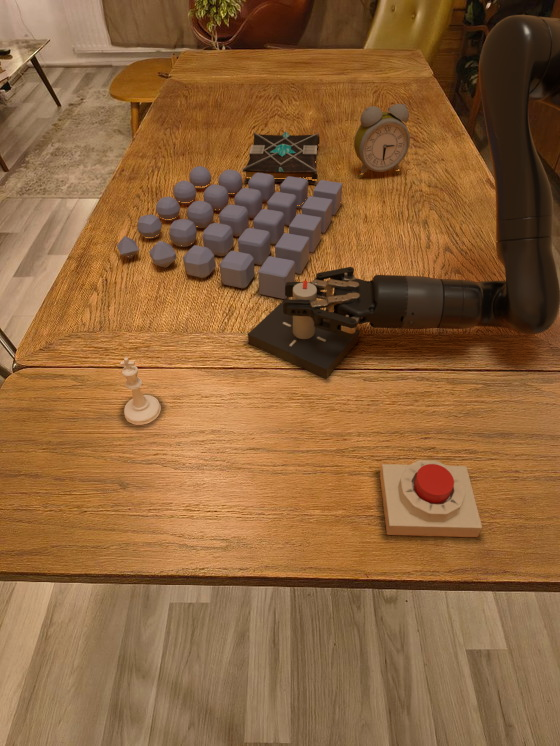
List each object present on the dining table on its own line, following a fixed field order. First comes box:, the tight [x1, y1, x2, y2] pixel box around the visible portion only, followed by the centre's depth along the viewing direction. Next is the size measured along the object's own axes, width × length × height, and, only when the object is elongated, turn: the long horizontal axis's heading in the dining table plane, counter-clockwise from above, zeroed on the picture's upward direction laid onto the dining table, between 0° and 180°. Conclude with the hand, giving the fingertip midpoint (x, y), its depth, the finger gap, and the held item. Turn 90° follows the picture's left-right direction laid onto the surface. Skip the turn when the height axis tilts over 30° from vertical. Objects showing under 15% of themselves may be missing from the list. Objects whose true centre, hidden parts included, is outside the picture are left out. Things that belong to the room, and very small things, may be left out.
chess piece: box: [119, 357, 162, 426], centre depth 67 cm, size 5×5×10 cm
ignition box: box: [379, 459, 483, 538], centre depth 59 cm, size 10×8×4 cm
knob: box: [292, 280, 318, 339], centre depth 75 cm, size 3×3×8 cm
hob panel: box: [247, 300, 361, 380], centre depth 79 cm, size 14×10×2 cm
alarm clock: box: [353, 103, 411, 179], centre depth 115 cm, size 12×7×15 cm, turn 102°
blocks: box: [116, 165, 343, 300], centre depth 101 cm, size 35×34×5 cm
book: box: [241, 131, 321, 186], centre depth 122 cm, size 22×17×5 cm
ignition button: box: [414, 464, 454, 504], centre depth 57 cm, size 4×4×2 cm
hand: (284, 298), depth 74 cm, fingers closed on knob, 3 cm apart
